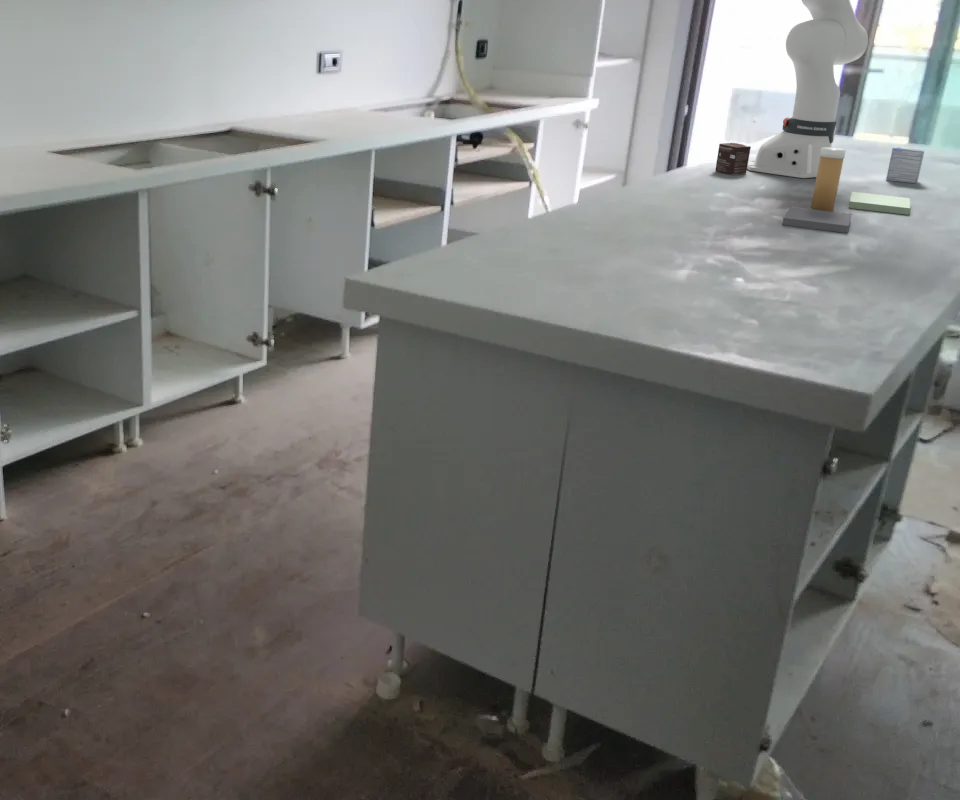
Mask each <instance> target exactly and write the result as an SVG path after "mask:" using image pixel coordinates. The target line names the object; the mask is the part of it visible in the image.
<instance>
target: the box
mask: <svg viewBox="0 0 960 800" xmlns="http://www.w3.org/2000/svg"><path fill="white" fill-rule="evenodd" d="M751 147H752V146H749V145H746V144H743V143H738V142H737V143H736V142H727V143H725V142H724V143H719V145H718V151H717V157H716V163H715V172H717V173H722V174H725V175H731V176H736V175H745V174H747V171H748V169H747V166H748V162H749V159H750V153H751Z"/></svg>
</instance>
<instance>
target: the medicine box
mask: <svg viewBox="0 0 960 800" xmlns="http://www.w3.org/2000/svg"><path fill="white" fill-rule="evenodd" d="M924 154H925V148H920V147H919V148H918V147H917V148H916V147H909V146H908V147H907V146H899V145H894V146H893V147H892V149H891V154H890V158H889V164H888V168H887V173H886V178H885V181H889V182H890V181H891V182H898V183H899V182H900V183H907V184H909V183H910V184H918V181H919V178H920V172H921V168H922V164H923V159H924V156H925V155H924Z"/></svg>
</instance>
